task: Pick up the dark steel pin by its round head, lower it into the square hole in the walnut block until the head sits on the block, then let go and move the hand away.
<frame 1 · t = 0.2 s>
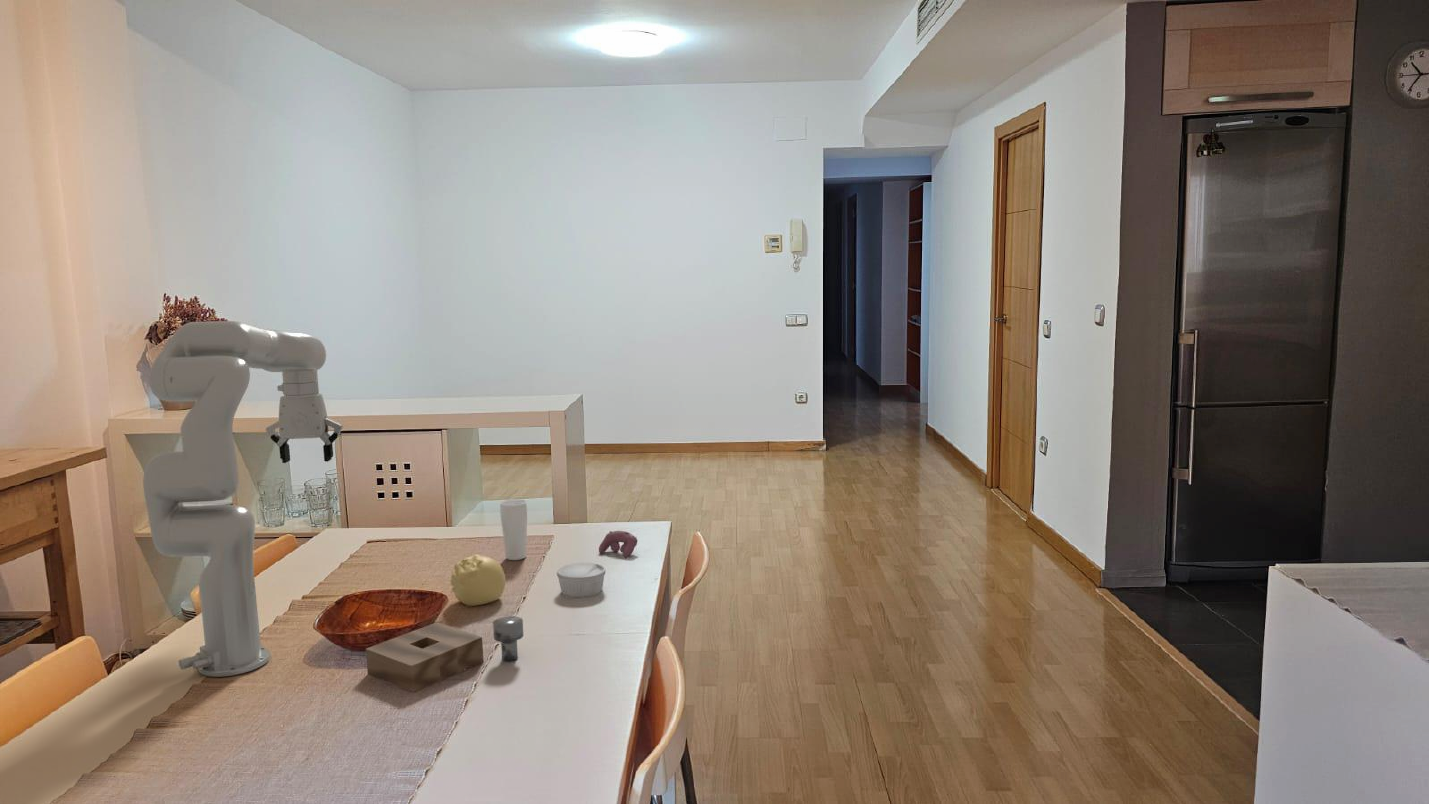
hand: (307, 461, 225), 31 cm above the table, tool pointing down, fingers open, 9 cm apart
dark red animal figurine: (618, 554, 251), on the table
sculpture: (479, 602, 217), on the table
ramekin: (582, 592, 222), on the table
walnut block: (426, 667, 181), on the table
steel pin: (509, 658, 184), on the table
drinking glass: (516, 558, 249), on the table
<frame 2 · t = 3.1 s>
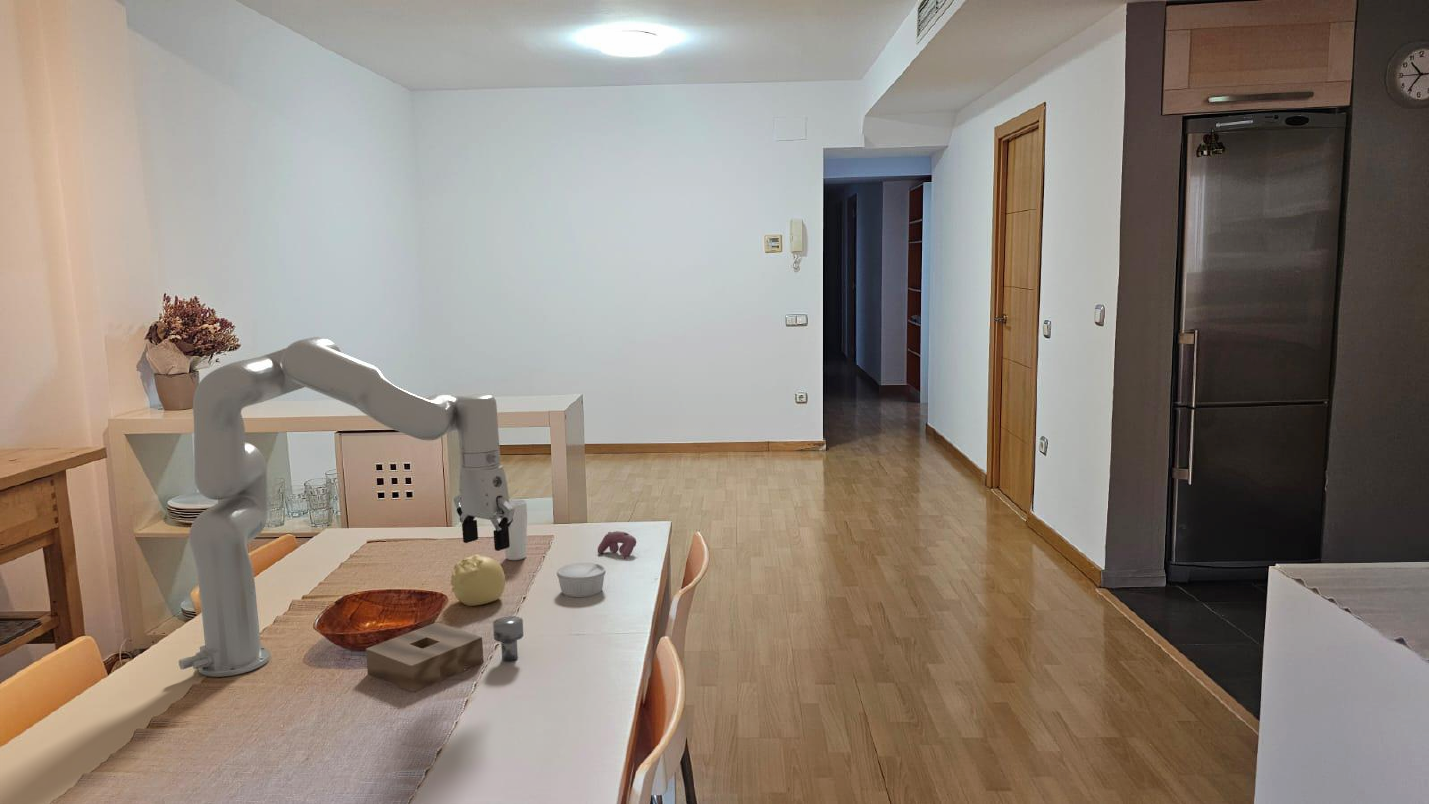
hand: (486, 545, 185), 22 cm above the table, tool pointing down, fingers open, 9 cm apart
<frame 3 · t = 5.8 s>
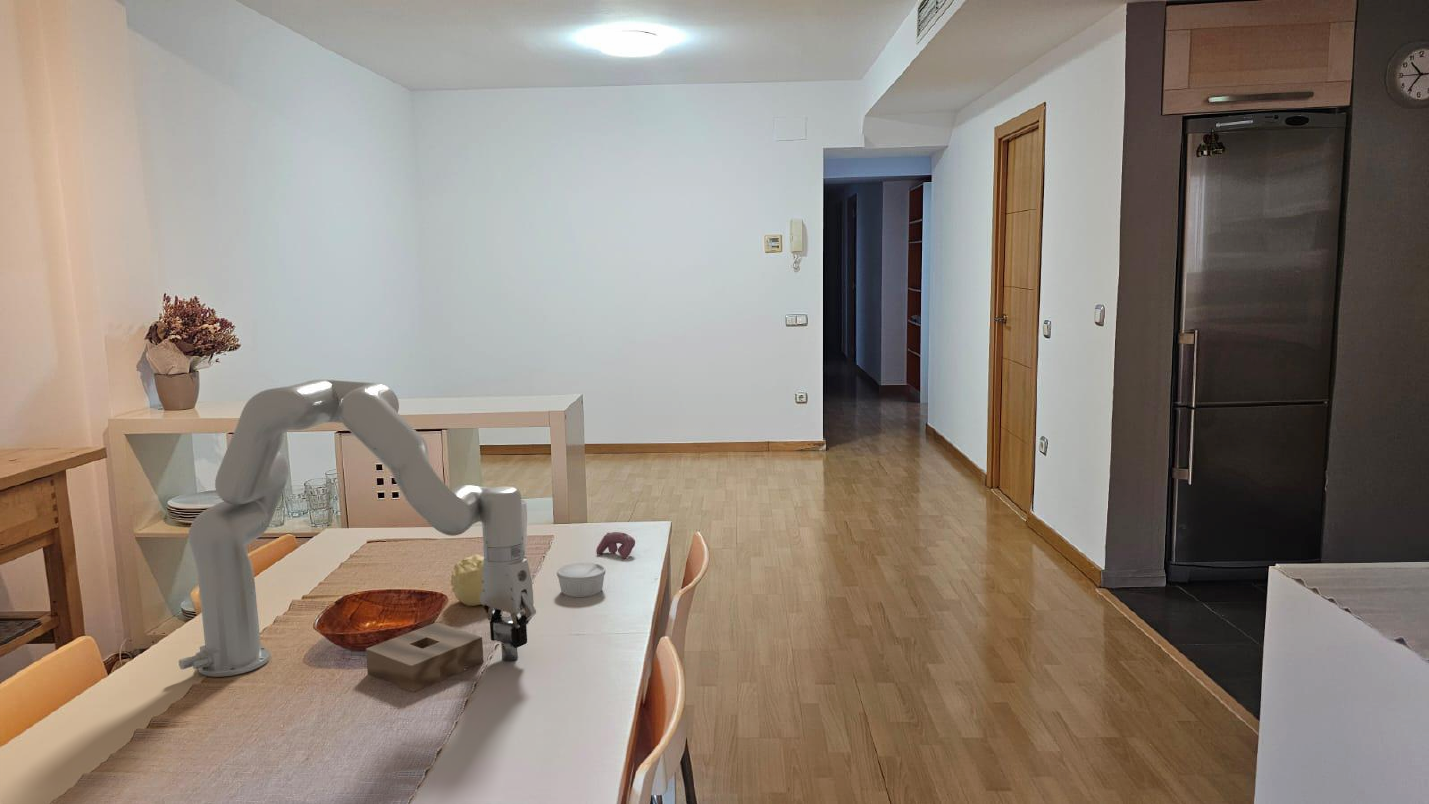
hand: (509, 641, 184), 4 cm above the table, tool pointing down, fingers closed on steel pin, 5 cm apart
steel pin: (510, 658, 184), on the table, touching gripper
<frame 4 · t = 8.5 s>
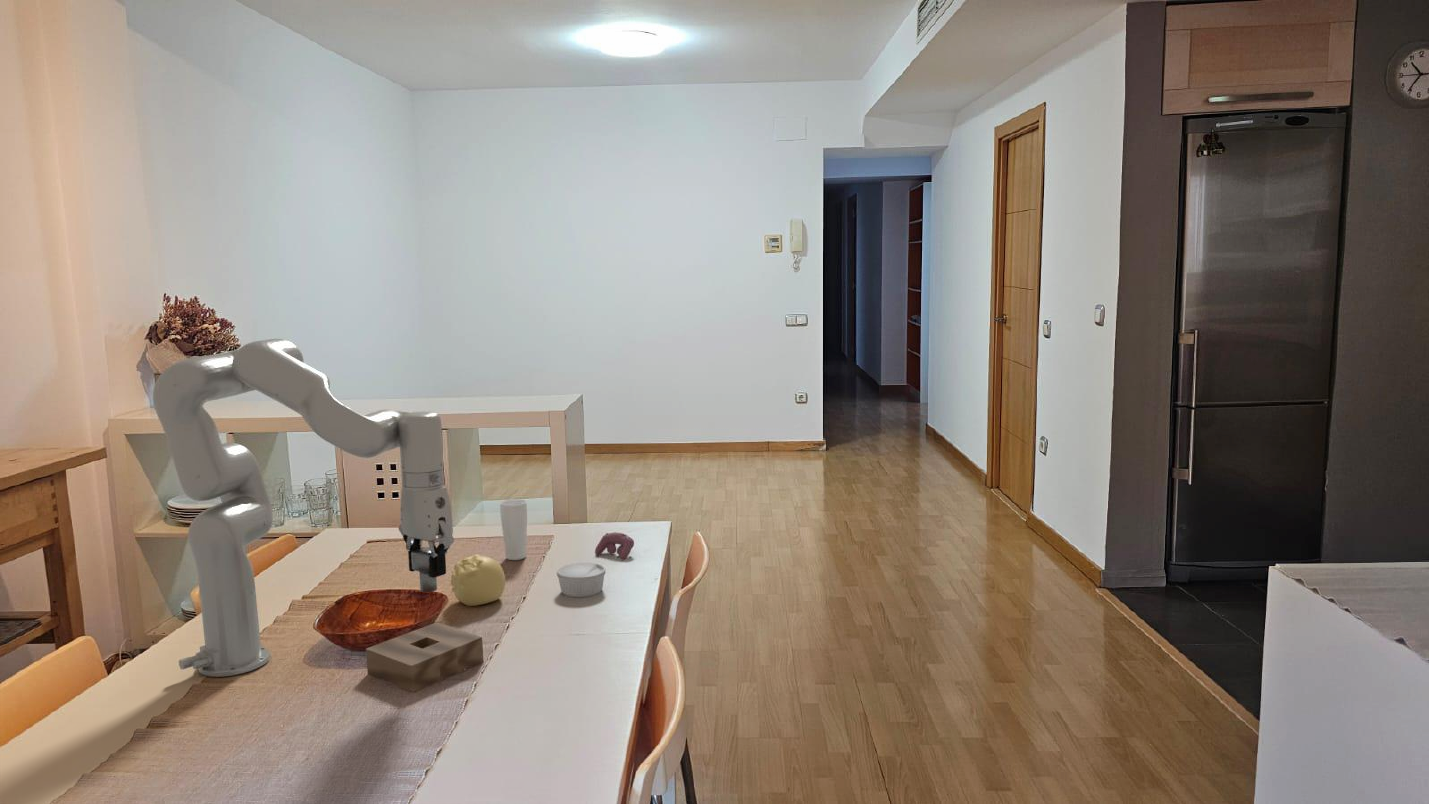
hand: (427, 571, 179), 19 cm above the table, tool pointing down, fingers closed on steel pin, 5 cm apart
steel pin: (428, 589, 179), point 15 cm above the table, touching gripper
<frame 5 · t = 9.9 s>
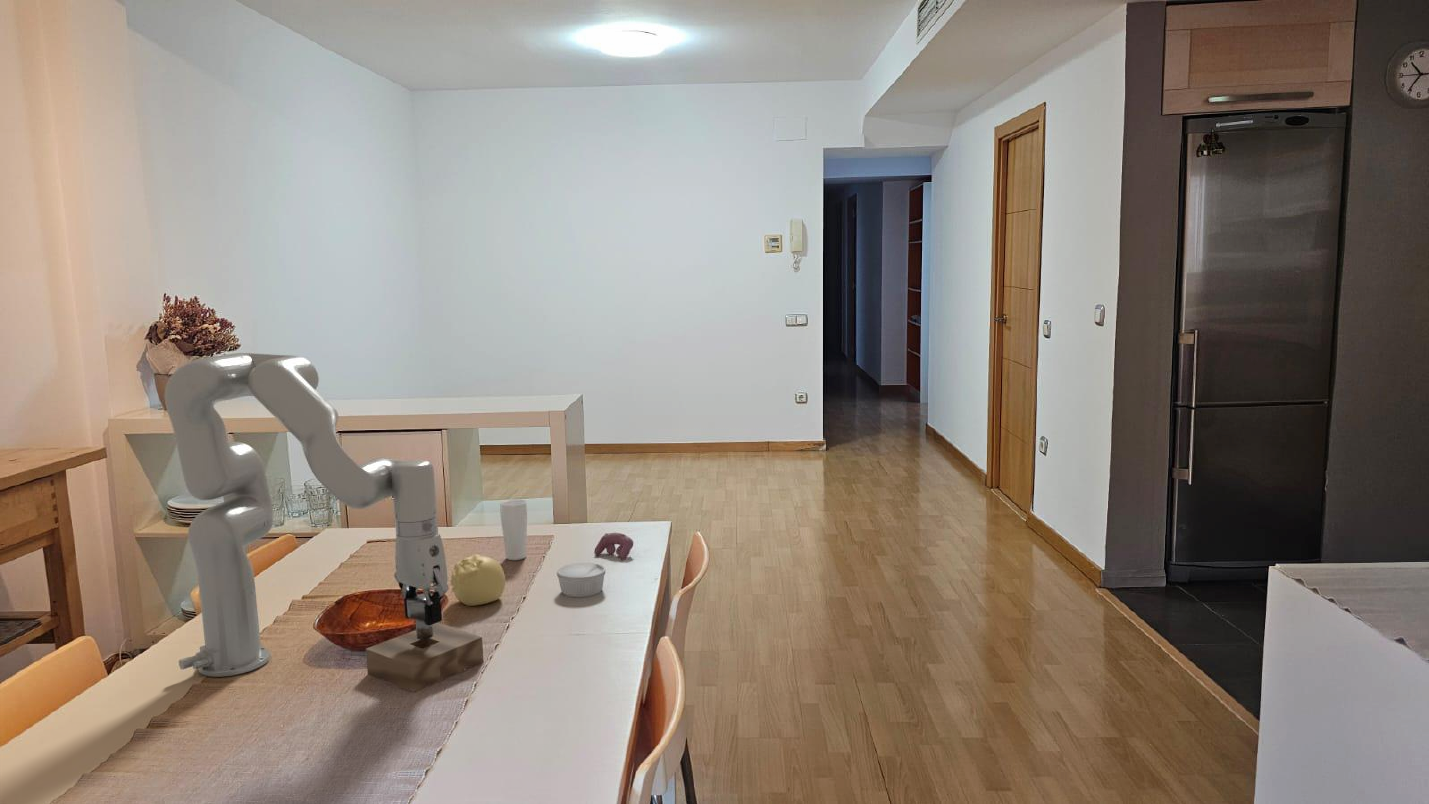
hand: (423, 618, 179), 10 cm above the table, tool pointing down, fingers closed on steel pin, 5 cm apart
steel pin: (425, 636, 180), point 6 cm above the table, touching gripper
when the fingers open (5 cm above the table, at t = 11.1 s): steel pin drops 1 cm, resting on walnut block.
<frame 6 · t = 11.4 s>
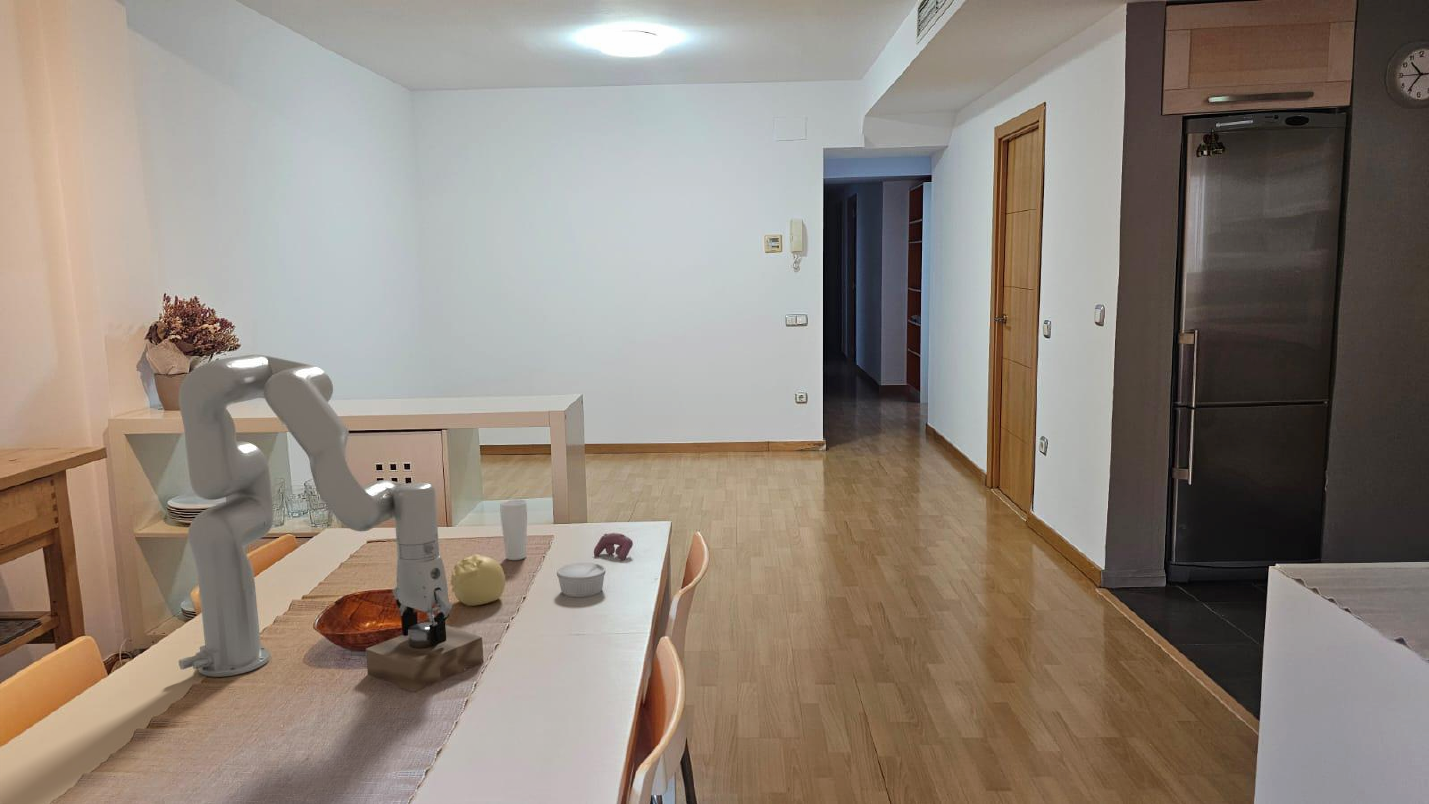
hand: (424, 638, 180), 6 cm above the table, tool pointing down, fingers open, 8 cm apart
steel pin: (426, 665, 181), resting on walnut block
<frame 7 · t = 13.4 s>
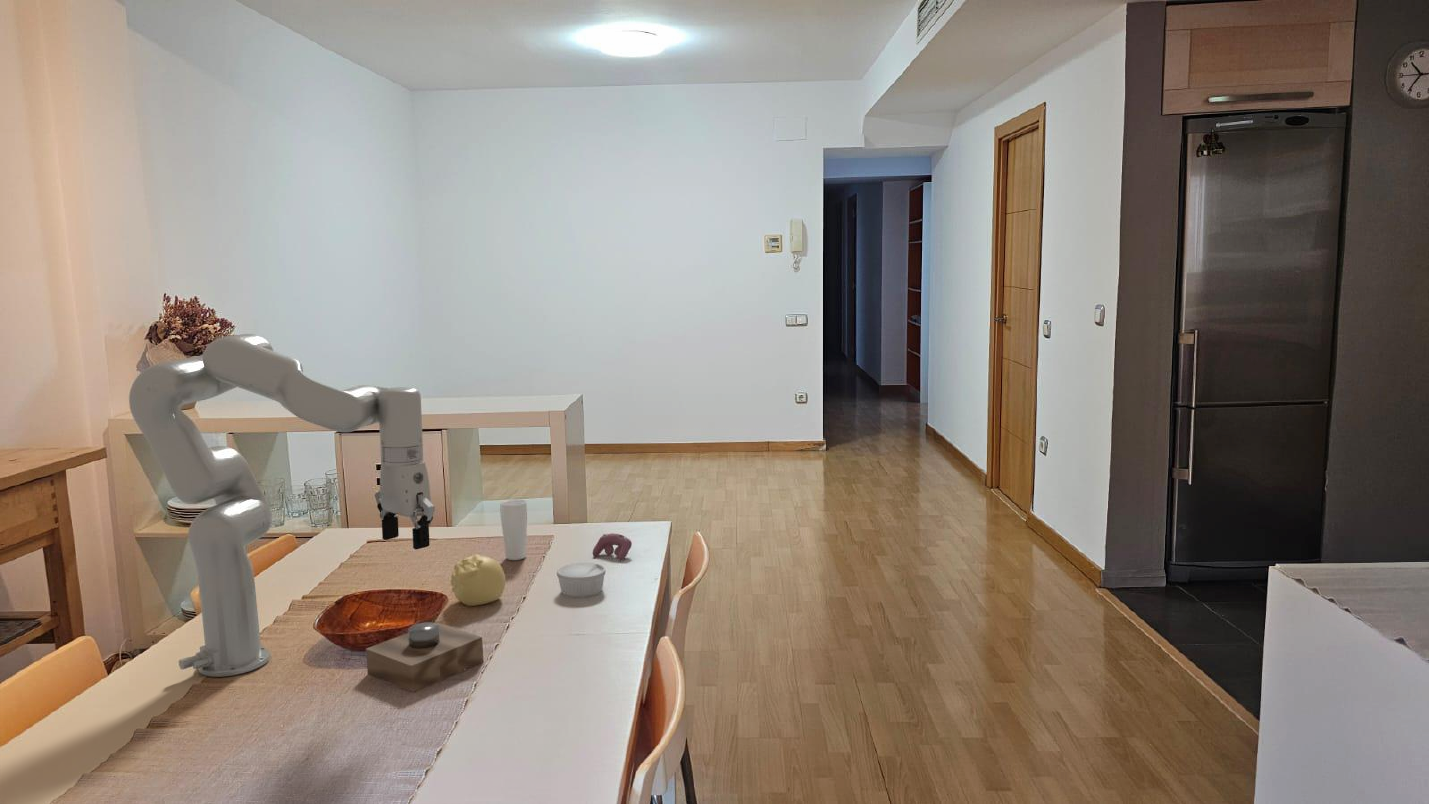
hand: (405, 542, 179), 24 cm above the table, tool pointing down, fingers open, 9 cm apart
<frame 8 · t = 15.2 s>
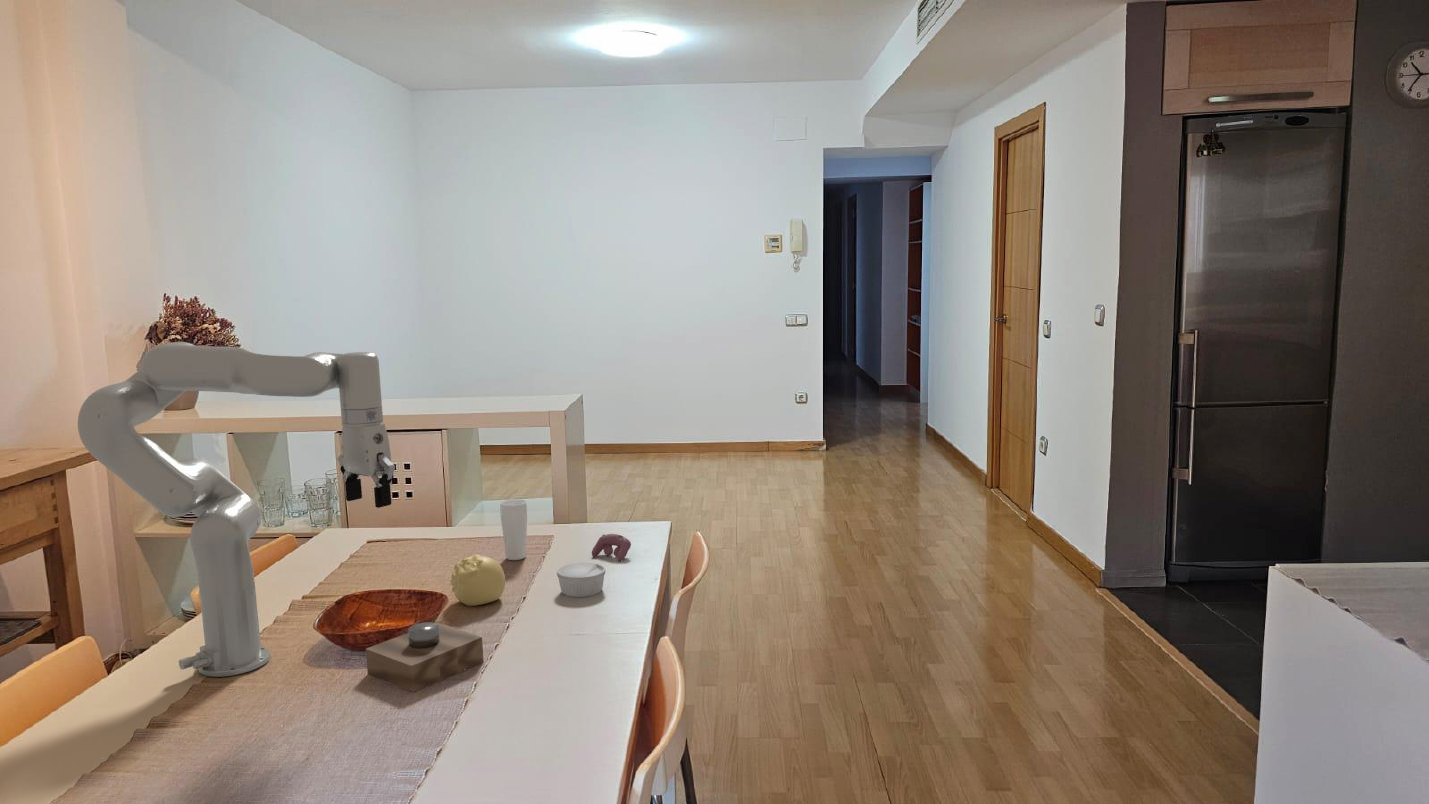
hand: (368, 502, 185), 30 cm above the table, tool pointing down, fingers open, 9 cm apart
at the end: steel pin 0.0 cm off-centre on the walnut block, point 0.5 cm above the walnut block's base; steel pin tilted 0°; the gripper is holding nothing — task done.
